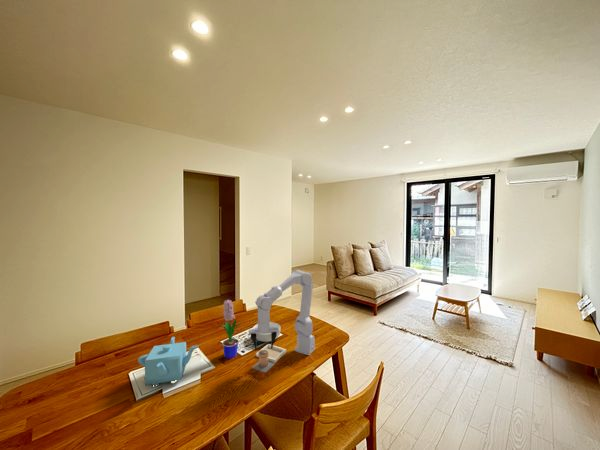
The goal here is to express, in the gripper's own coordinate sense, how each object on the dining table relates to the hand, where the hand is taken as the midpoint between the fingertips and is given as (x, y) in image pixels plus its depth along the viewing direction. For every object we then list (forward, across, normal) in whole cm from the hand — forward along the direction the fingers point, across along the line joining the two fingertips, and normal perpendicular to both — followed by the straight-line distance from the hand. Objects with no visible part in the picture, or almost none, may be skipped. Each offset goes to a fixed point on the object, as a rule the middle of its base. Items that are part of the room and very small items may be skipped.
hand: (263, 347), depth 115 cm
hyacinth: (+10, +17, -11) cm, 23 cm away
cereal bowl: (+10, -1, -27) cm, 28 cm away
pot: (+9, 0, -1) cm, 9 cm away
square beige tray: (+9, -4, -10) cm, 14 cm away
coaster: (+9, 0, 0) cm, 9 cm away
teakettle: (+9, +43, +3) cm, 44 cm away
